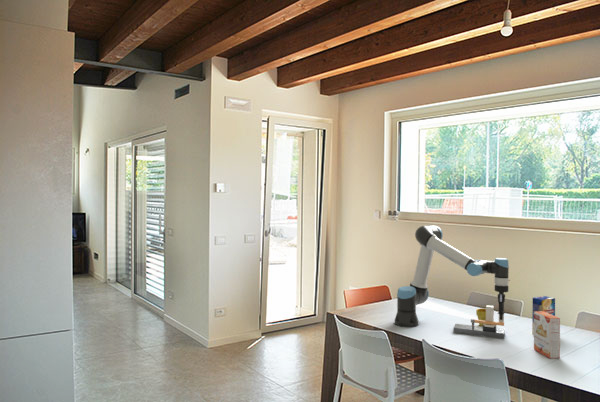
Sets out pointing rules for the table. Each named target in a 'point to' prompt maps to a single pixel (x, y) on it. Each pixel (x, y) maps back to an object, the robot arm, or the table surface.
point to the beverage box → (543, 306)
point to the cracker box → (547, 334)
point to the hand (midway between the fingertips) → (501, 324)
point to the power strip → (479, 331)
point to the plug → (489, 315)
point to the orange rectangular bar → (485, 322)
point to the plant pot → (481, 315)
